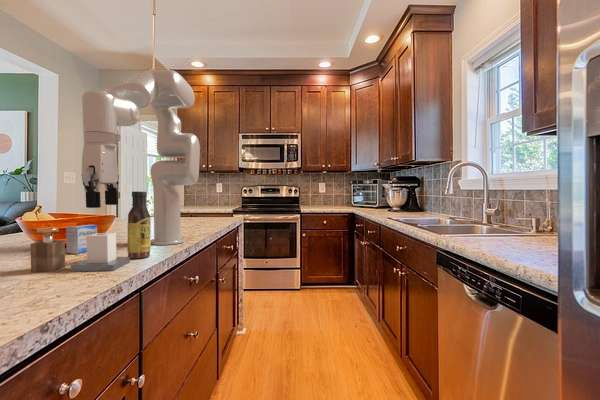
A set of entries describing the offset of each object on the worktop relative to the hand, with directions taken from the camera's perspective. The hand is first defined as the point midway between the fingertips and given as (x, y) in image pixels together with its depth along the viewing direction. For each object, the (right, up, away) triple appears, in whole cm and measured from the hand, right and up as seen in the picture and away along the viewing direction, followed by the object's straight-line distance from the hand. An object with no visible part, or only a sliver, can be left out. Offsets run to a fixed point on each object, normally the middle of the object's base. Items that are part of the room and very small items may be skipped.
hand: (103, 206), depth 87 cm
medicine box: (-19, -16, +21) cm, 32 cm away
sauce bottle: (+4, -16, +12) cm, 20 cm away
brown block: (-12, -16, -4) cm, 20 cm away
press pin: (-12, -12, -4) cm, 17 cm away
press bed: (0, -16, 0) cm, 16 cm away
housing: (0, -14, 0) cm, 14 cm away
